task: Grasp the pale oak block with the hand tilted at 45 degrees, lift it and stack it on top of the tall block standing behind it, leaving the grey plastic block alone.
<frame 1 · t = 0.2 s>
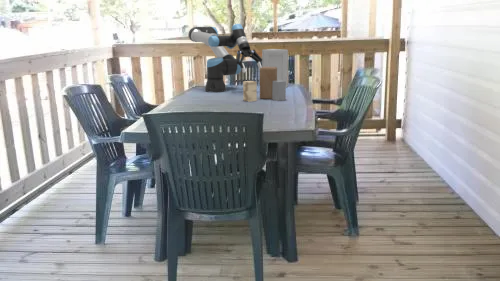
hand: (253, 71, 311), 15 cm above the table, tool tilted 35°, fingers open, 13 cm apart
oak block: (249, 100, 289), on the table
grey block: (278, 99, 292), on the table
white tall box: (273, 86, 355), on the table
block: (268, 98, 299), on the table
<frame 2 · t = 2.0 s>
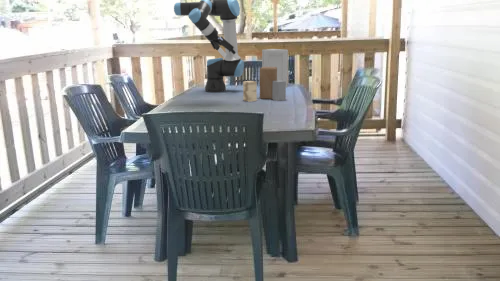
hand: (231, 56, 280), 27 cm above the table, tool tilted 45°, fingers open, 13 cm apart
nothing on the table moved.
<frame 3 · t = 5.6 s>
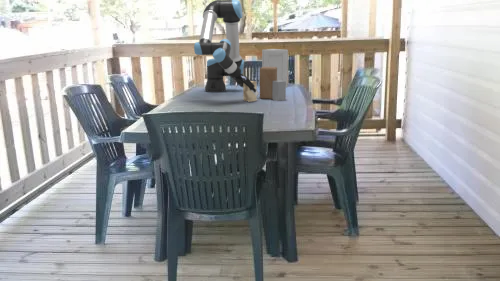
hand: (254, 94, 290), 4 cm above the table, tool tilted 45°, fingers closed on oak block, 6 cm apart
oak block: (249, 100, 289), on the table, touching gripper
everything else where it was.
when the fingers open (25 cm above the table, at t = 9.7 s): oak block drops 1 cm, resting on block.
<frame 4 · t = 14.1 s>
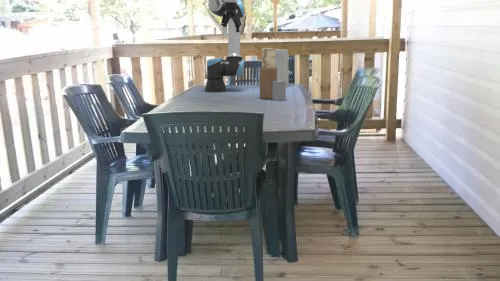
hand: (231, 37, 285), 39 cm above the table, tool pointing down, fingers open, 13 cm apart
oak block: (268, 67, 294), point 20 cm above the table, touching block
block: (268, 98, 299), on the table, touching oak block
everything else where it was.
at the end: oak block inside the target area on the block (0.1 cm from its centre), point 20.2 cm above the block's base; oak block tilted 0°; the gripper is holding nothing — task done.
